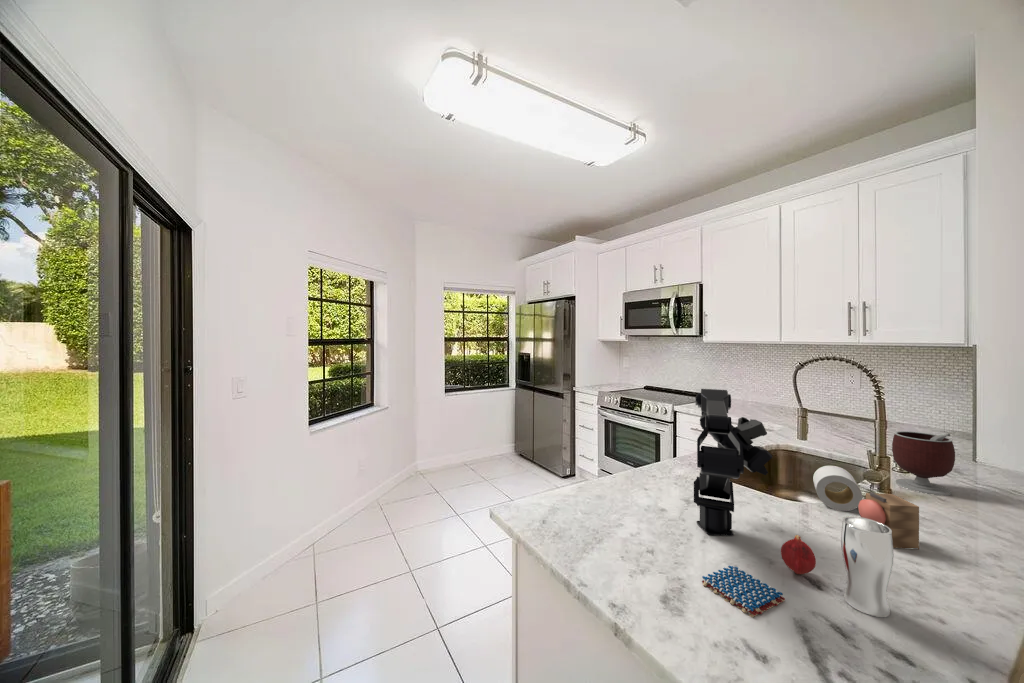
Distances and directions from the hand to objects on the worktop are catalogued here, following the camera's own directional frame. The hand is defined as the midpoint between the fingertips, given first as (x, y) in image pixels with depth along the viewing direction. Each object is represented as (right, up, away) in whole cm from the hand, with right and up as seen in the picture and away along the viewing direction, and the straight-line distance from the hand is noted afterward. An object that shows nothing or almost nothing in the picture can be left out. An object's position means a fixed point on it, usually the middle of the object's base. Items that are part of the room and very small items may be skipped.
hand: (766, 473), depth 98 cm
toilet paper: (+29, -14, +12) cm, 35 cm away
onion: (-8, -14, -21) cm, 26 cm away
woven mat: (-23, -14, -26) cm, 37 cm away
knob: (+24, -10, -8) cm, 27 cm away
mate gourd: (+68, -13, +23) cm, 73 cm away
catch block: (+25, -14, -8) cm, 30 cm away
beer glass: (-2, -14, -30) cm, 33 cm away
